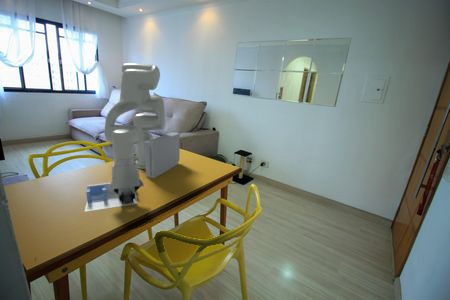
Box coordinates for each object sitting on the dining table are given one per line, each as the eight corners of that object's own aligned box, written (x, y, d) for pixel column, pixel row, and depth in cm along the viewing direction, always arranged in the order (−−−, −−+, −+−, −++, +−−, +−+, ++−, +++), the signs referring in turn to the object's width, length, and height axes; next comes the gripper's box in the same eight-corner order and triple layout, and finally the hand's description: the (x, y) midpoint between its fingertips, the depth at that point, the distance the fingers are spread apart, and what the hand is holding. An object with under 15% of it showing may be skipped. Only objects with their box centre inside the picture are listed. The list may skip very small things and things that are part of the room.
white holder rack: (89, 193, 97) (88, 182, 96) (135, 187, 105) (134, 177, 104) (84, 212, 83) (82, 200, 82) (137, 204, 91) (136, 192, 90)
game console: (144, 177, 117) (142, 141, 111) (171, 161, 142) (171, 132, 136) (153, 179, 115) (152, 143, 109) (179, 163, 140) (179, 133, 134)
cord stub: (123, 192, 98) (122, 186, 97) (130, 191, 99) (130, 185, 98) (123, 204, 89) (123, 197, 88) (132, 202, 91) (131, 196, 90)
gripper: (145, 155, 92) (147, 194, 98) (101, 159, 85) (106, 200, 91) (147, 162, 86) (149, 202, 91) (100, 166, 79) (105, 209, 84)
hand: (127, 200), depth 91 cm, fingers closed on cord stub, 3 cm apart
